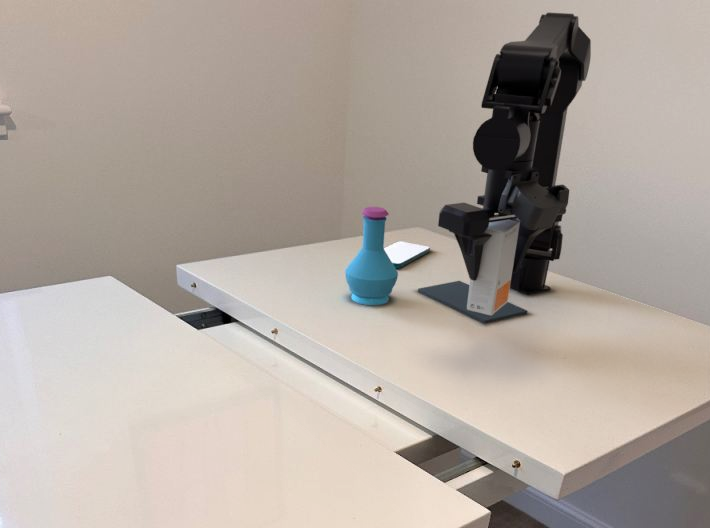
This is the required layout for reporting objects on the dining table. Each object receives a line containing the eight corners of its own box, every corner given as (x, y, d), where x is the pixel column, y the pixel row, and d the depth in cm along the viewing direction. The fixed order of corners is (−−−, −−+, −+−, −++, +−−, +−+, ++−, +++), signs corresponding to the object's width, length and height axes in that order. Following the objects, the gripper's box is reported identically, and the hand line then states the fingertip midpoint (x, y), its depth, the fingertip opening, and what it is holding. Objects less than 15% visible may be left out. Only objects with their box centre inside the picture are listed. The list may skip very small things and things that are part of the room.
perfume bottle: (376, 311, 122) (381, 219, 113) (333, 298, 126) (336, 208, 118) (406, 298, 128) (413, 209, 119) (364, 286, 133) (369, 200, 124)
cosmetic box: (492, 317, 104) (504, 232, 97) (465, 310, 106) (475, 227, 98) (508, 303, 108) (521, 221, 101) (482, 297, 110) (493, 215, 102)
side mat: (458, 283, 136) (459, 280, 136) (527, 313, 124) (527, 310, 124) (417, 291, 131) (418, 288, 131) (484, 324, 120) (485, 320, 119)
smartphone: (398, 245, 156) (363, 261, 144) (398, 240, 155) (364, 257, 144) (431, 251, 153) (399, 269, 141) (432, 247, 152) (399, 264, 141)
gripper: (502, 175, 85) (483, 303, 94) (606, 163, 94) (579, 282, 103) (442, 158, 93) (429, 279, 102) (543, 149, 101) (523, 261, 111)
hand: (493, 275), depth 104 cm, fingers closed on cosmetic box, 7 cm apart
